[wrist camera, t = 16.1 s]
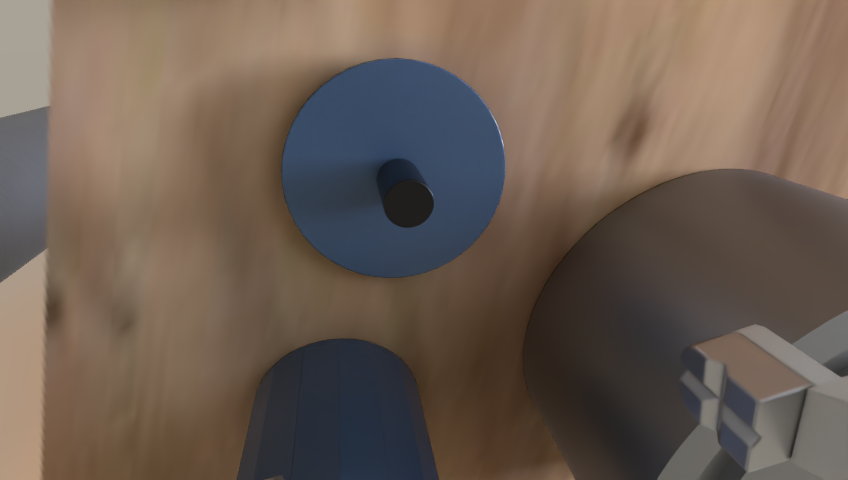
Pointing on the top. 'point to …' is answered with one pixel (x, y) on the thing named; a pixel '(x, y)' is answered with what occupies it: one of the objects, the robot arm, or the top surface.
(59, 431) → the top surface
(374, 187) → the tin lid
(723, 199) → the container
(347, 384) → the tin
